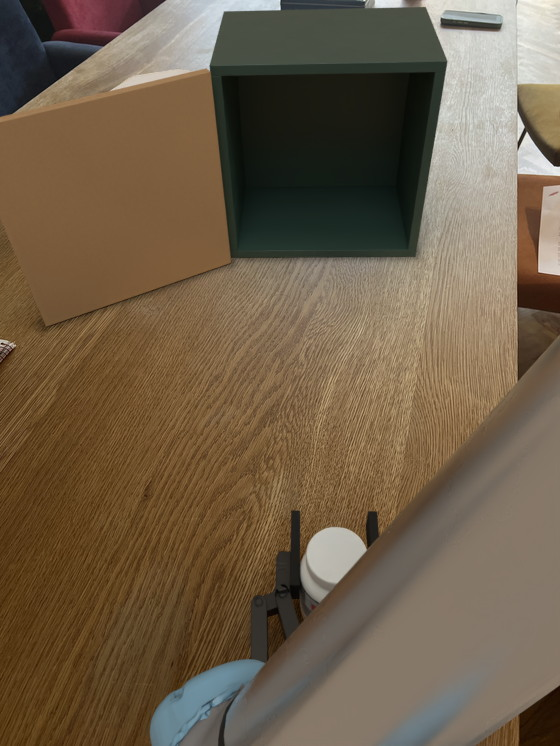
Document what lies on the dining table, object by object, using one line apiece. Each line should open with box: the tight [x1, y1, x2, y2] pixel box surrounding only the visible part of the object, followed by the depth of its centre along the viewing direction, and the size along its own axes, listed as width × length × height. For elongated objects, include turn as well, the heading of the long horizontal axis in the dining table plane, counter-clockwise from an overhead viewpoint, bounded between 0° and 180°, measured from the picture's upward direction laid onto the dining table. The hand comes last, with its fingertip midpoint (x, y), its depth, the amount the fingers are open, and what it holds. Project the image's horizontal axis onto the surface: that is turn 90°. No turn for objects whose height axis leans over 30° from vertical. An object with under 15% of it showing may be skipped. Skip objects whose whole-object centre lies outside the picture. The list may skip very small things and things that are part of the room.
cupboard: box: [209, 6, 449, 259], centre depth 84 cm, size 18×26×26 cm
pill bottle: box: [299, 526, 367, 621], centre depth 50 cm, size 6×6×10 cm
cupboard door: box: [0, 68, 232, 328], centre depth 75 cm, size 7×26×26 cm, turn 118°
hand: (333, 519), depth 52 cm, fingers closed on pill bottle, 6 cm apart
